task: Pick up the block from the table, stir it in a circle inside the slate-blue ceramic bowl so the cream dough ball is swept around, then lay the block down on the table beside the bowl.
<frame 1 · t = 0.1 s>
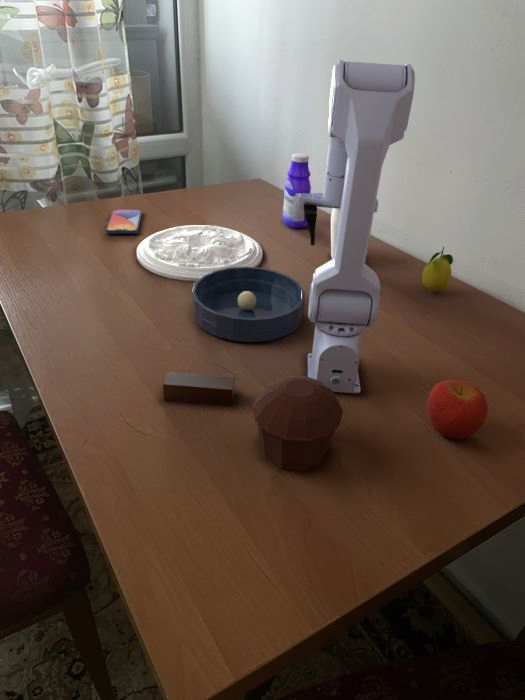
hand: (332, 244, 105), 10 cm above the table, tool pointing down, fingers open, 7 cm apart
cup: (345, 259, 125), on the table
bowl: (247, 314, 101), on the table
ceiling medallion: (200, 253, 123), on the table
bottle: (294, 225, 141), on the table
muffin: (293, 448, 73), on the table
dough ball: (246, 300, 101), point 2 cm above the table, tilted 114°, touching bowl
block: (199, 396, 81), on the table
apple: (448, 431, 77), on the table
smartphone: (124, 224, 135), on the table
pear: (432, 293, 113), on the table
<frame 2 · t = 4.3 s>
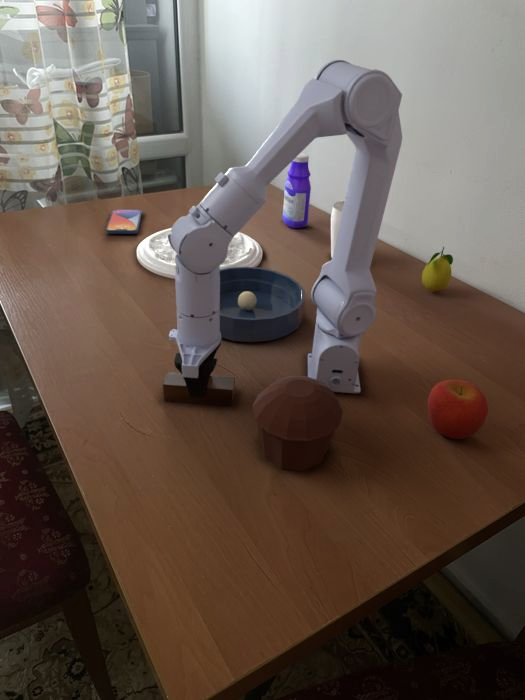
hand: (199, 388, 80), 2 cm above the table, tool pointing down, fingers closed on block, 3 cm apart
block: (199, 397, 81), on the table, touching gripper
everything else where it was.
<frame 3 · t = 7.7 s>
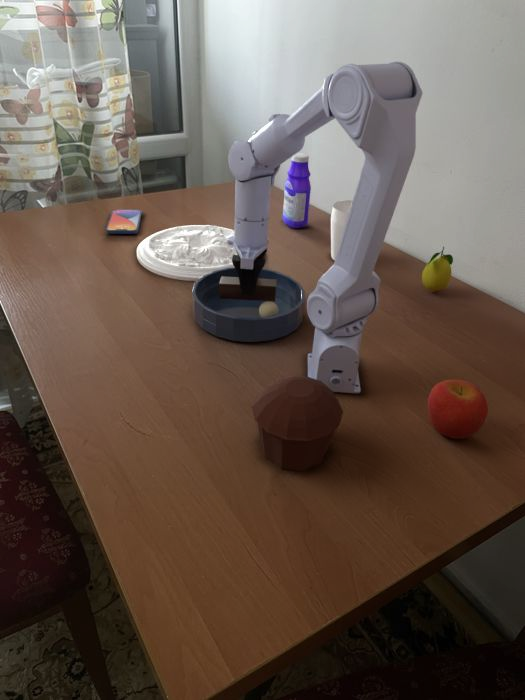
hand: (248, 288, 98), 5 cm above the table, tool pointing down, fingers closed on block, 3 cm apart
dough ball: (268, 310, 98), point 2 cm above the table, tilted 78°, touching bowl, block
block: (247, 296, 99), point 4 cm above the table, touching dough ball, gripper
everything else where it was.
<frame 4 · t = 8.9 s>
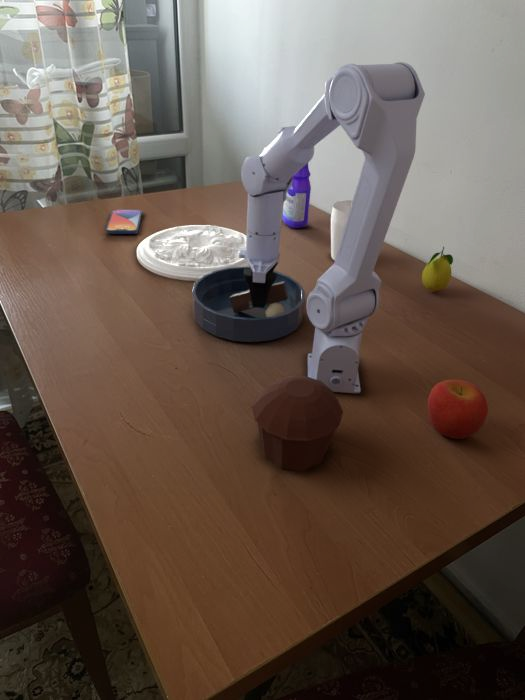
hand: (259, 300, 99), 3 cm above the table, tool pointing down, fingers closed on block, 4 cm apart
dough ball: (275, 312, 98), point 2 cm above the table, tilted 43°, touching bowl, block
block: (261, 304, 99), point 3 cm above the table, tilted 27°, touching dough ball, gripper
everything else where it was.
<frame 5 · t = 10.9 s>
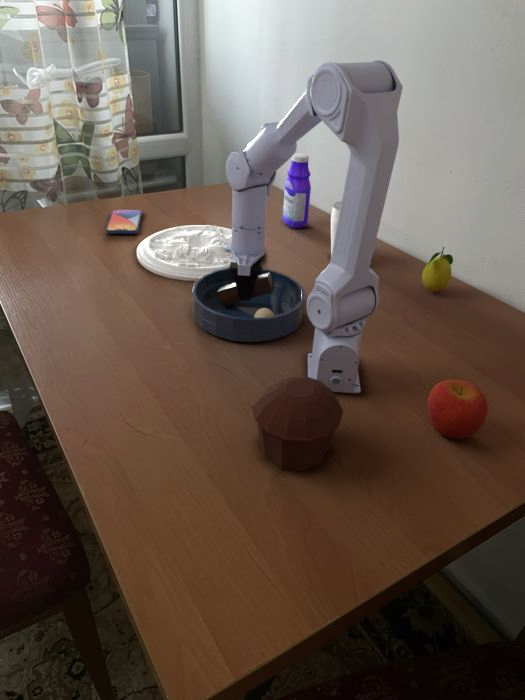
hand: (245, 294, 101), 3 cm above the table, tool pointing down, fingers closed on block, 3 cm apart
dough ball: (264, 317, 96), point 2 cm above the table, tilted 84°, touching bowl
block: (248, 297, 101), point 3 cm above the table, tilted 25°, touching gripper
everything else where it was.
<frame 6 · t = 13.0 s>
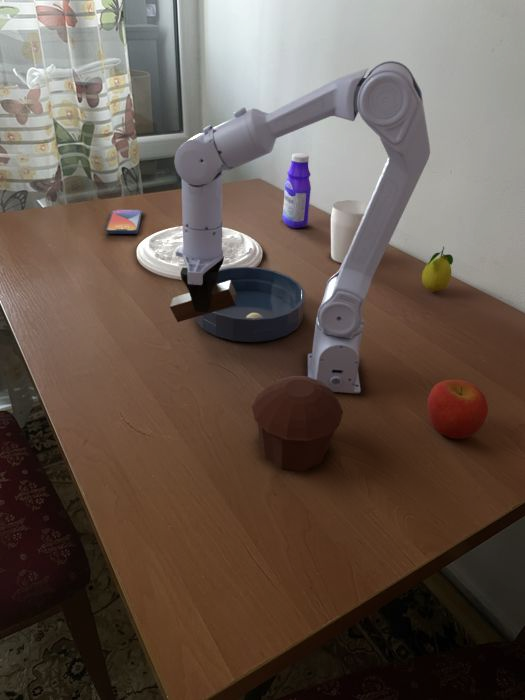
hand: (203, 305, 87), 8 cm above the table, tool pointing down, fingers closed on block, 3 cm apart
dough ball: (254, 322, 94), point 2 cm above the table, tilted 139°, touching bowl
block: (207, 309, 87), point 8 cm above the table, tilted 23°, touching gripper
everything else where it was.
when the fingers open (3 cm above the table, at t = 14.5 s): block drops 2 cm, on the table.
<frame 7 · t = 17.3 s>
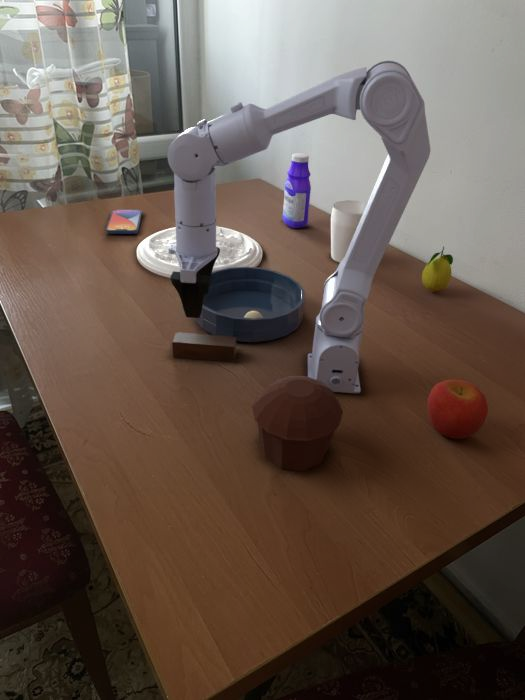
hand: (197, 304, 85), 9 cm above the table, tool pointing down, fingers open, 7 cm apart
dough ball: (253, 320, 95), point 2 cm above the table, tilted 148°, touching bowl
block: (204, 354, 90), on the table
everything else where it was.
at the end: dough ball moved 5.2 cm from its start; dough ball inside the target area in the bowl (6.1 cm from its centre), point 2.3 cm above the bowl's base; block inside the target area (1.6 cm from its centre), on the table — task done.
